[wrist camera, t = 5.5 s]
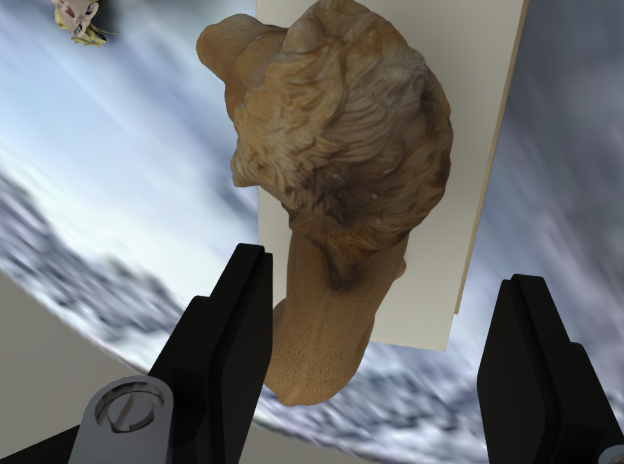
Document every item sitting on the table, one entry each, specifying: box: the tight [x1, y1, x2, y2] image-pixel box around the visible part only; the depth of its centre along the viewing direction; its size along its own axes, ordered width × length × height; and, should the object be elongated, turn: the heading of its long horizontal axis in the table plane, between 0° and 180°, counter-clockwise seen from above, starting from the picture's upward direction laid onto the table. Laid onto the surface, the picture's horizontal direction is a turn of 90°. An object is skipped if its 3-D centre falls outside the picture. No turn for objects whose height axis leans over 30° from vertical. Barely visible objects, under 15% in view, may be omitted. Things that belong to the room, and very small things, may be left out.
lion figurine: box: [196, 0, 454, 406], centre depth 15 cm, size 15×5×9 cm, turn 178°
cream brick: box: [256, 0, 524, 352], centre depth 21 cm, size 8×14×4 cm, turn 178°
